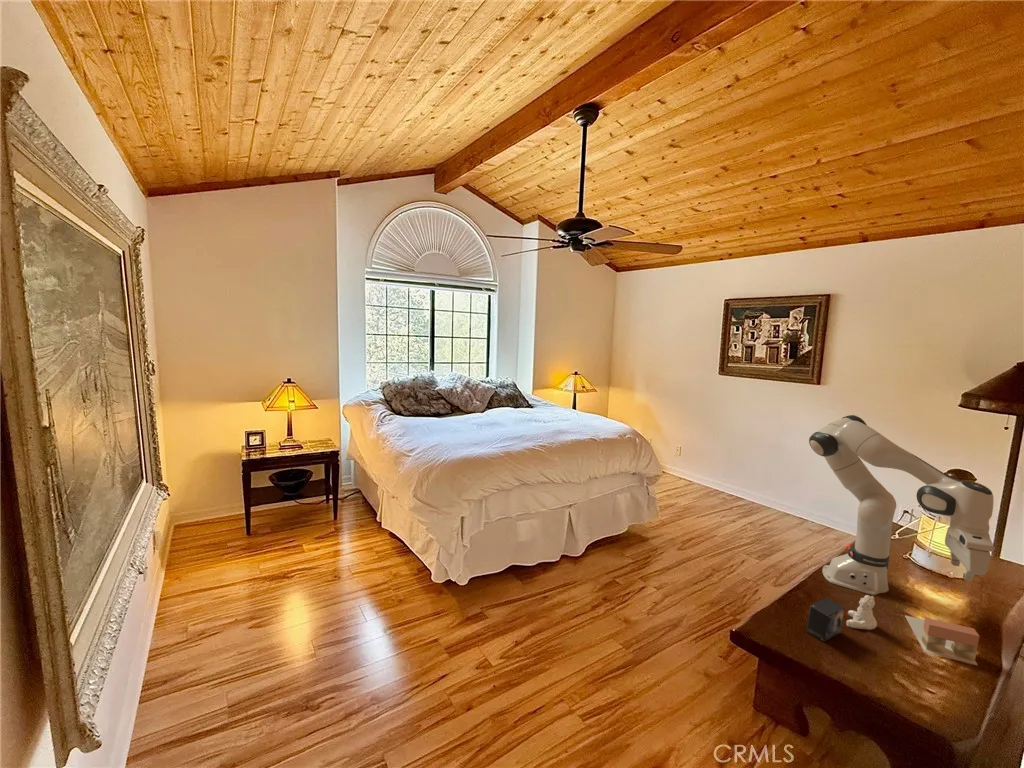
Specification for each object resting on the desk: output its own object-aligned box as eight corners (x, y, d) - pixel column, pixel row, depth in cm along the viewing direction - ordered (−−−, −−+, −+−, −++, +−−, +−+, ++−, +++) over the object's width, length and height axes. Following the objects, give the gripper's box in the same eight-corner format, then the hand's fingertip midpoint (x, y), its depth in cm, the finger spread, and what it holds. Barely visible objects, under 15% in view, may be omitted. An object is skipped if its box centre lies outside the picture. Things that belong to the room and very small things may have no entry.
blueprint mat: (924, 652, 154) (924, 651, 153) (904, 616, 172) (904, 615, 172) (978, 666, 148) (978, 665, 148) (951, 627, 166) (951, 625, 166)
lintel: (977, 647, 149) (979, 636, 148) (927, 635, 154) (929, 624, 153) (971, 639, 152) (973, 628, 152) (923, 627, 158) (925, 617, 157)
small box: (824, 643, 158) (828, 616, 156) (805, 631, 164) (808, 605, 162) (842, 633, 163) (845, 606, 161) (822, 622, 168) (826, 596, 167)
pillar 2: (956, 656, 151) (958, 643, 150) (950, 647, 155) (953, 634, 154) (974, 661, 149) (977, 647, 148) (968, 652, 153) (971, 638, 152)
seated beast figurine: (847, 612, 174) (851, 584, 172) (876, 622, 168) (881, 593, 166) (845, 626, 166) (849, 596, 164) (876, 637, 161) (880, 606, 159)
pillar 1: (926, 649, 155) (928, 635, 154) (921, 640, 159) (923, 627, 158) (943, 653, 153) (946, 640, 152) (938, 644, 157) (940, 631, 156)
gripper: (942, 517, 157) (936, 554, 160) (969, 544, 139) (961, 586, 142) (966, 521, 155) (960, 558, 157) (997, 549, 137) (989, 592, 139)
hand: (960, 572), depth 149 cm, fingers open, 8 cm apart
